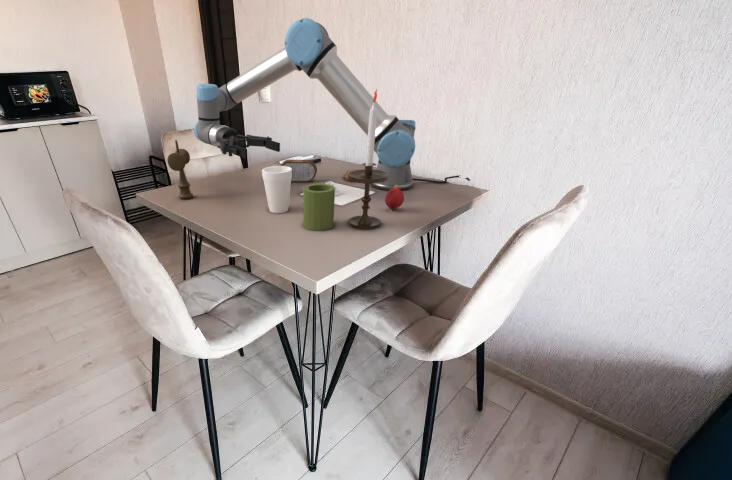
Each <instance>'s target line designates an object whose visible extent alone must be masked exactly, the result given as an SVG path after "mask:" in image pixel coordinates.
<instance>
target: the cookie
mask: <svg viewBox="0 0 732 480" xmlns="http://www.w3.org/2000/svg"><path fill="white" fill-rule="evenodd" d="M355 170H356V169H351V170H347V171H345V172H344V173H343V174H342V177H343V179H344V180H345V181H346V182H352V181H351V180H349V178H348V177H349V173H350V172H352V171H355Z"/></svg>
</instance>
